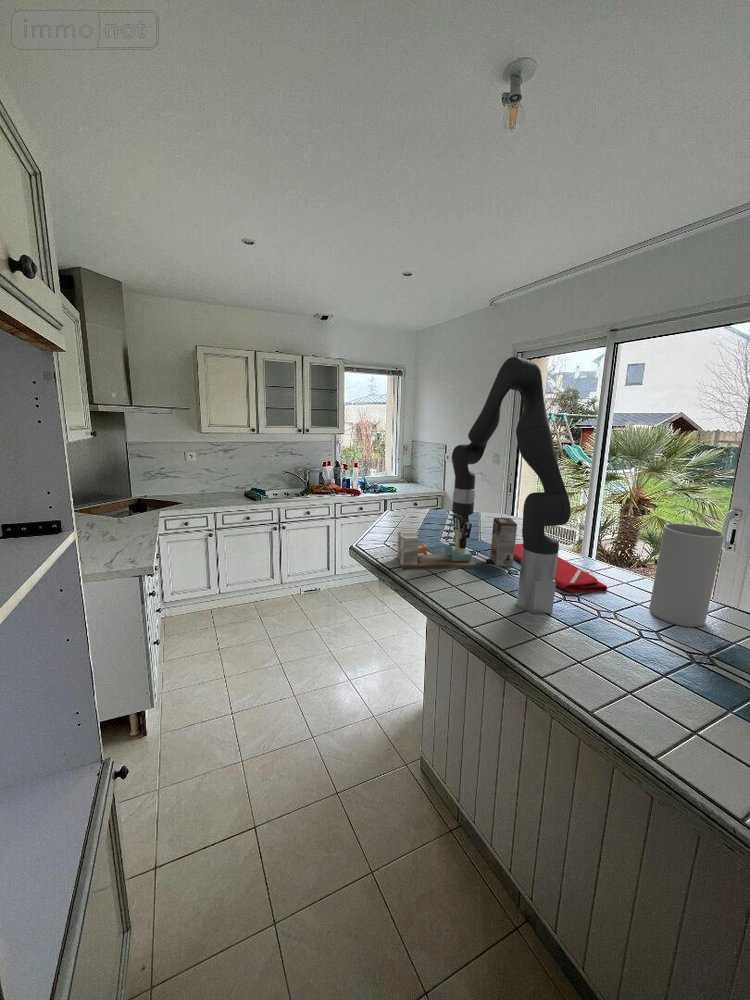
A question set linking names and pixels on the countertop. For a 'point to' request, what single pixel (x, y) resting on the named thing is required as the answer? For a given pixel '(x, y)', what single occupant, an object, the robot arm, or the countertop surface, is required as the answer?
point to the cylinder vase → (685, 574)
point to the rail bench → (413, 560)
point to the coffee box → (503, 541)
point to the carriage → (458, 551)
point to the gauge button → (422, 549)
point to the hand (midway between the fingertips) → (460, 545)
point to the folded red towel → (569, 576)
